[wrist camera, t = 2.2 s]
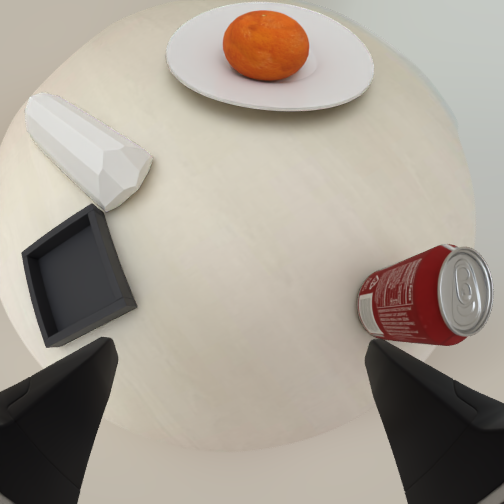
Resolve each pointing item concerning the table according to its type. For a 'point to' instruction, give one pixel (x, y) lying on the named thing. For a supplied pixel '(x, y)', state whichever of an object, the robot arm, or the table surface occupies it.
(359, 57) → the plate
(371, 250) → the table surface
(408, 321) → the soda can
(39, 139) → the crystal
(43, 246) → the dark grey square tray
